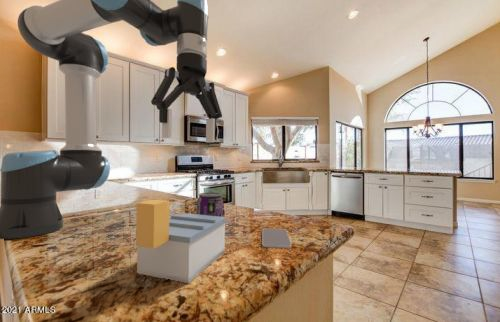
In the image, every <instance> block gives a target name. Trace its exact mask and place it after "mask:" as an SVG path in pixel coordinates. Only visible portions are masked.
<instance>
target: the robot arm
mask: <svg viewBox="0 0 500 322" xmlns="http://www.w3.org/2000/svg"><path fill="white" fill-rule="evenodd" d="M176 4H177V5H176V6H174V7H171V8H168V9H162V8H161V7H160V6H158V5H157V4H156V3H155V2H153V1H152V0H57V1H55V2H52V3H49V4H48V5H44V6H42V5H31V6H29V7H27V8H25V9H23V10H22V11H21V12H20V13H19V14H18V17H17V28H18V31H19V34H20V35H21V38H22V39H23V41H24V42H25V43H26V44H27V45H28V46H29V47H30V48H31V49H33V50H34V51H35V52H37V53H39V54H40V55H43V56H44V57H48V58H50V59H51V60H55V61H57V62H58V70H60V72H62V73H63V74H64V92H65V93H64V96H65V97H64V100H65V101H64V103H65V104H64V106H65V107H64V108H65V110H64V111H65V117H64V118H65V145H64V146H63V147H62V148H60V150H59V153H58V151H57V150H53V149H52V150H50V149H49V150H31V151H17V152H8V153H6V154H5V155H3V157H2V160H1V166H0V240H8V239H9V240H10V239H11V240H12V239H21V238H22V239H24V238H28V237H29V238H30V237H37V236H41V235H42V236H43V235H45V234H49V233H52V232H56V231H58V230H61V229H62V228H63V227H64V218H63V216H62V213H61V211H60V209H59V206H58V203H57V192H58V193H60V192H68V191H69V192H70V191H71V192H72V191H79V190H80V191H82V190H88V191H89V190H90V189H97V188H99V187H102V186H103V185H104V184H105V183H106V182H107V180H108V179H109V175H110V171H111V165H110V162H109V159H108V158H107V157H106V156H103V155H102V153H103V152H102V151H103V150H102V149H100V147H98V146H97V142H98V141H97V97H96V96H97V93H96V92H97V91H96V89H97V88H96V81H97V79H99V78H100V77H101V74H103V73H104V72H105V71H106V69H107V66H108V65H109V55H108V51H107V49H106V47H105V45H104V44H103V43H102V41H100V40H98V39H96V38H94V37H93V36H91V35H90V34H86V33H84V32H87V31H88V32H89V31H91V30H94V29H97V28H100V27H103V26H107V25H110V24H112V23H118V22H121V21H123V22H125V23H127V24H128V25H130V26H132V27H134V28H135V29H137V30H138V31H139V33H140V36H141V38H142V39H143V40H144V42H145V43H147V44H148V45H150V46H152V47H158V46H166V45H169V44H173V43H176V55H177V56H176V68H175V67H173V66H172V67H169V68H166V69H165V70H164V77H163V79H162V80H161V83H160V84H159V86H158V88H157V90H156V91H155V93H154V95H153V97H152V99H151V100H150V101H151V102H150V103H151V105H153V106H156V109H157V110H158V111H159V113H158V114H159V115H158V116H159V117H158V118H159V119H158V120H159V124H161V138H162V139H169V138H170V139H171V138H172V130H173V129H172V127H173V126H172V125H173V124H172V122H173V121H172V120H173V109H172V108H170V106H171V105H172V104H173V103H174V102H175V101H176V100H177V99H178V98H179V97H180V96H181V95H182V94H183V93H184V94H189V95H190V96H192V97H193V96H194V97H195V98H196V99H197V100H198V102H199V103H200V105H201V107H202V109H203V110H204V113H205V114H206V115H207V119H206V123H205V143H215V137H216V136H215V133H216V132H215V131H217V120H218V119H221V118H222V117H223V113H222V110H221V108H220V104H219V100H218V98H217V94H216V91H215V83H214V82H213V81H212V82H206V74H207V69H208V68H207V65H208V60H207V58H208V26H209V24H208V23H209V15H208V10H209V9H208V1H207V0H177V1H176ZM175 79H176V81H177V83H178V84H177V85H176V86H175V87H174V89H173V90H172V91H171V92H170V93H168V92H169V89H170V88H171V85H172V84H173V82H174V80H175ZM167 94H168V95H167ZM166 95H167V96H166Z"/></svg>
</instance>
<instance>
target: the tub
mask: <svg viewBox="0 0 500 322" xmlns="http://www.w3.org/2000/svg"><path fill="white" fill-rule="evenodd" d="M225 239H226V222H225V223H223V224H222V225H220V226H218V227H217V228H215V229H213V230H211V231H210V232H208V233H206V234H205V235H203V236H201V237H200V238H198V239H196V240H195V241H193V242H191V243H183V242H176V241H168V242H166V243H164V244H162V245H160V246H158V247H156V248H154V249H152V248H146V247H140V246H137V256H136V258H137V259H136V261H137V262H136V273H137V274H140V275H145V276H150V277H153V278H160V279H163V278H165V280H168V279H170V280H169V281H173V280H175V282H178V281H179V282H178V283H183V282H184V283H183V284H188V283H189V284H191V282H193V280H194V279H195V278H197V276H199V275H200V274H201V273H203V271H204V270H206V269H207V268H208V267H209V266H210V265H211V264H212V263H214V262H215V261H216V260H217V259H218V258H220V257H221V256H222V255H223V253H225V251H226V249H225V247H226V243H225V242H226V240H225Z"/></svg>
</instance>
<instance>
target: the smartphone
mask: <svg viewBox="0 0 500 322" xmlns="http://www.w3.org/2000/svg"><path fill="white" fill-rule="evenodd" d="M261 233H262V236H261V237H262V239H261V242H262V243H261V245H262V247H263V248H277V249H291V248H292V242H291V239H290V236H289V234H288V231H287V229H285V228H271V227H270V228H268V227H264V228H262V232H261Z"/></svg>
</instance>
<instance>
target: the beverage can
mask: <svg viewBox="0 0 500 322" xmlns="http://www.w3.org/2000/svg"><path fill="white" fill-rule="evenodd" d="M223 213H224V199H223V197H222V193H220V192H201V193H199V194H198V198H197V200H196V214H198V215H208V216H219V217H224V216H223V215H224V214H223Z"/></svg>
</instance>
